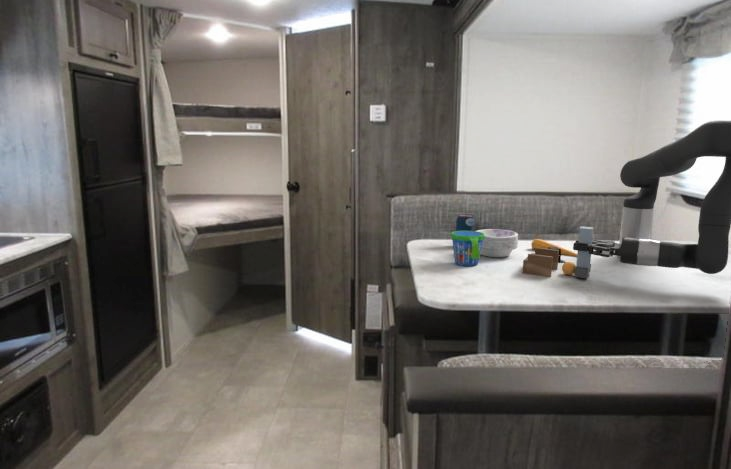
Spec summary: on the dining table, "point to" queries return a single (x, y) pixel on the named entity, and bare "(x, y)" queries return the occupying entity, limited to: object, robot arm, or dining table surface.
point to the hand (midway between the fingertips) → (574, 244)
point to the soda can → (465, 222)
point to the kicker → (584, 253)
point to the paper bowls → (498, 242)
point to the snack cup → (467, 247)
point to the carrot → (544, 244)
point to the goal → (541, 262)
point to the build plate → (559, 254)
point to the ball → (568, 268)
